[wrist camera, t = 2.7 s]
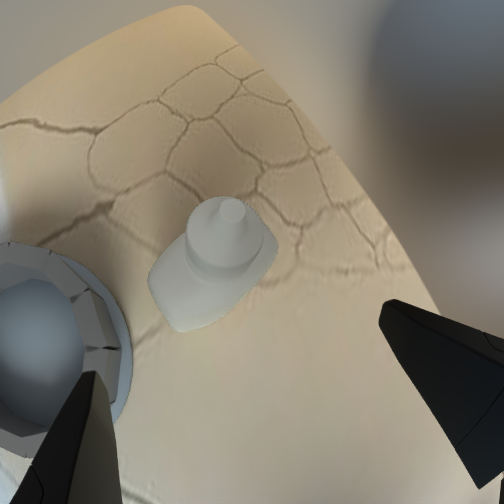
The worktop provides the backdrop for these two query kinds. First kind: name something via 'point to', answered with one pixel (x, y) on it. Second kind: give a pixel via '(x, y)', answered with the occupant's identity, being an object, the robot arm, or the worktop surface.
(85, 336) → the grey segmented round bowl
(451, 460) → the worktop surface
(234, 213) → the eye dropper bottle
